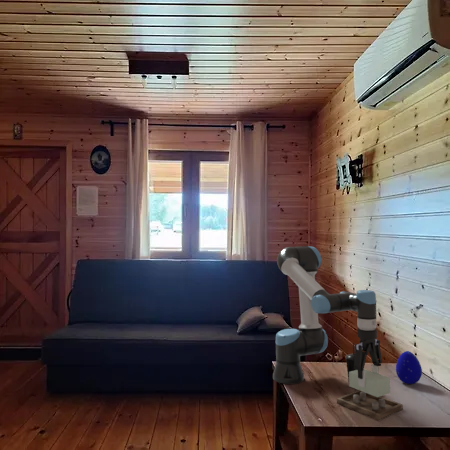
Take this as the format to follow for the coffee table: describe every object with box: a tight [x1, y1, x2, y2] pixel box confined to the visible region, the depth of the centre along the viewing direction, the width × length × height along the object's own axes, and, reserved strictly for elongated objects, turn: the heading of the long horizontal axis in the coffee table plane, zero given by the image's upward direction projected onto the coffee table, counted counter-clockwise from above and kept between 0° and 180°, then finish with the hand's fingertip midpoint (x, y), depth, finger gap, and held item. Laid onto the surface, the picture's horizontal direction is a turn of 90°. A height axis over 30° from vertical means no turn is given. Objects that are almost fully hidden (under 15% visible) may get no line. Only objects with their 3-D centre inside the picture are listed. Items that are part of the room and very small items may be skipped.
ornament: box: [395, 350, 423, 385], centre depth 192 cm, size 11×9×15 cm
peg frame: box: [336, 390, 404, 422], centre depth 168 cm, size 20×16×4 cm
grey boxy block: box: [348, 368, 391, 397], centre depth 168 cm, size 14×8×6 cm, turn 32°
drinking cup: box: [345, 342, 356, 389], centre depth 189 cm, size 8×8×20 cm
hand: (368, 383), depth 168 cm, fingers closed on grey boxy block, 8 cm apart
